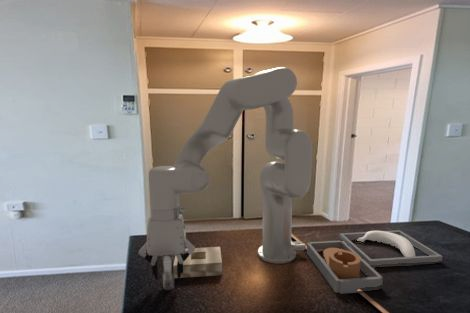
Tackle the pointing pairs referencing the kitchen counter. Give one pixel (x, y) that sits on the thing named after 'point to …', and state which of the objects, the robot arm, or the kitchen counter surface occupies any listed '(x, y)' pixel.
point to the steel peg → (168, 272)
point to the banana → (390, 241)
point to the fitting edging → (335, 283)
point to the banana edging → (415, 259)
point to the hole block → (201, 263)
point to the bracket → (342, 263)
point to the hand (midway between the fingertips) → (168, 275)
